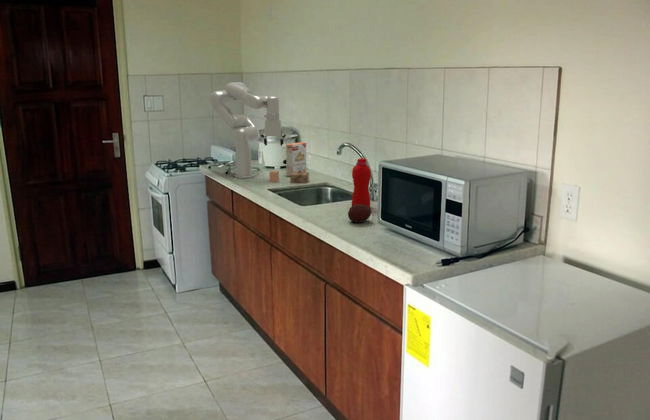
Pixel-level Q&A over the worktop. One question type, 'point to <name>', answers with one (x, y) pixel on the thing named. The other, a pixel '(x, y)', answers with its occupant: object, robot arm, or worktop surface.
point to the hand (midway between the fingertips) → (273, 145)
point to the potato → (359, 213)
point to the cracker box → (295, 158)
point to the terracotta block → (274, 176)
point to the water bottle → (361, 183)
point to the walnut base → (299, 177)
